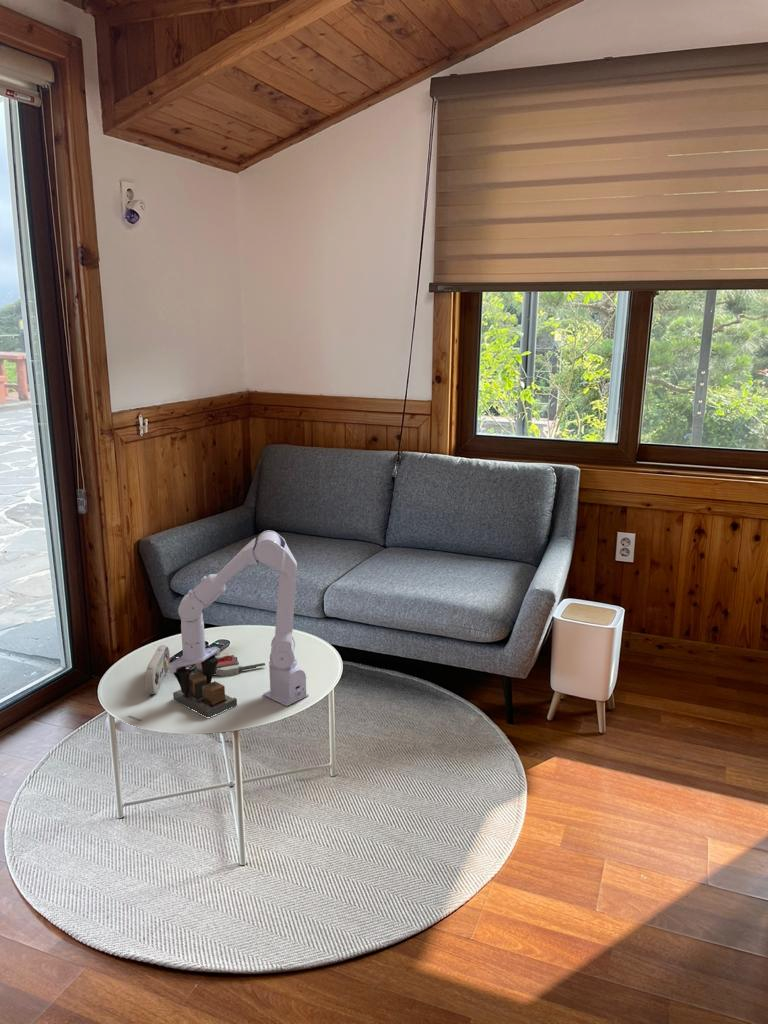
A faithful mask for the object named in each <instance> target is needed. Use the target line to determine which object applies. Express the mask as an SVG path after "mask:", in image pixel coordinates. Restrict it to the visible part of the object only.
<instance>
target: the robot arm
mask: <svg viewBox="0 0 768 1024" xmlns="http://www.w3.org/2000/svg"><path fill="white" fill-rule="evenodd" d="M259 562H260V563H262V564H264V565H266V566H268V567H270V568H272V569H273V570H274V571H275V572H276V573H278V582H277V583H278V584H277V585H278V586H277V603H276V615H275V632H274V633H275V634H274V637H273V638H272V640H271V643H270V645H271V648H270V654H269V662H268V671H269V690H267V691H265V692H263V693H262V694H263V696H264V697H267V698H269V699H271V700H273V701H275V702H277V703H279V704H281V705H283V706H286V707H288V706H289V705H292V704H294V703H296V702H299V701H300V700H302V699H305V698H307V697H308V696H309V695H310V694H309V693H308V692H307V676H306V673H305V670H303V669H302V668H301V667H300V666H299V664H298V659H297V658H296V657H295V648H296V641H295V639H294V636H293V629H294V628H293V627H294V613H295V600H296V587H297V586H296V585H297V576H298V575H297V572H298V563H297V560H296V558H295V556H294V555H293V553H292V552H291V550H290V548H289V546H288V544H287V541H286V540H285V538H284V537H282V536H281V535H280V534H279V533H278V532H276V531H274V530H271V529H270V530H269V529H268V530H264V531H262V532H261V533H259V535H258V536H257V537H254V538H253V539H252V540H250V541H249V542H248V543H247V544H246V545H245V546H244V547H243V548H241V550H239V551H238V553H237V554H236V555H234V557H233V558H232V559H231V560H230V561H229V562H228V563H227V564H225V566H224V567H223V568H222V569H221V570H220V571H219V572H217V573H210V574H208V575H207V576H206V575H203V577H202V578H201V579H200V582H199V584H198V585H197V586H195V587H194V588H193V589H190V590H189V591H188V592H187V594H186V595H184V596H183V597H182V599H181V601H180V603H179V605H178V611H177V612H178V615H179V617H180V621H181V622H180V623H181V624H180V631H181V632H180V633H181V646H182V655H181V656H180V657H177V658H176V659H175V660H174V661H172V662H169V664H168V672H170V673H172V674H173V675H174V677H175V679H176V681H178V684H179V687H180V690H182V693H184V694H186V695H187V694H189V676H190V674H191V672H190V671H189V670H187V667H189V666H193V665H194V664H196V663H200V662H201V665H202V670H203V675H205V676H206V679H207V684H209V683H212V679H213V676H214V675H213V672H214V670H215V667H216V665H217V664H218V659H217V658H215V656H219V655H220V654H221V650H220V648H219V647H217V646H213V647H208V648H206V639H205V638H206V637H205V623H204V622H205V621H204V615H203V610H204V609H207V608H209V606H211V605H212V604H213V603H214V602H215V601H216V600H217V599H219V597H220V596H221V595H222V594H223V593H224V592H225V591H226V589H227V588H226V587H227V586H226V584H227V583H228V582H229V581H230V580H232V579H233V578H234V577H235V576H236V575H237V574H238V573H240V572H241V571H242V570H243V569H245V568H246V567H247V566H249V565H253V566H254V565H255V566H257V565H259Z"/></svg>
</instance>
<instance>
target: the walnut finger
mask: <svg viewBox="0 0 768 1024" xmlns="http://www.w3.org/2000/svg"><path fill="white" fill-rule="evenodd" d="M194 672H195V671H194ZM194 672H193V673H190V676H189V694H188V695H190V696H192V697H194V698H196V699H200V698H202V697H203V696H202V686H204V685H207V679H206V676H205V675H203V674H201V673H199V672H195V673H194Z"/></svg>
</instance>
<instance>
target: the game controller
mask: <svg viewBox="0 0 768 1024" xmlns="http://www.w3.org/2000/svg"><path fill="white" fill-rule="evenodd" d="M170 659H171V658H170V649H169V647H168V645H166V644H161V645H159V646H158V647H157V649H156V651H155V653H154V654H153V656H152V657H151V660H149V663H148V664H147V667H146V671H145V676H144V677H145V678H144V679H145V681H144V685H145V686H144V687H145V691H146V693H147V695H157V694H158V692H159V691H160V690H159V689H160V687H161V686H160V685H161V682H162V681H163V679H164V677H165V676H166V675H167V674H168V672H169V670H168V664H169V663H170V662H169V661H170Z"/></svg>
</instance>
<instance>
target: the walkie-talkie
mask: <svg viewBox="0 0 768 1024" xmlns="http://www.w3.org/2000/svg"><path fill="white" fill-rule="evenodd" d="M215 658H217V659H218V664H217V665H216V667H215V670H214V672H213V676H215V675H214V674H216V675H217V676H218V675H221V676H220V677H227V676H233V674H234V675H239V674H240V673H239V672H243V671H247V670H251V669H256V668H259V667H263V666H266V663H265V662H261V663H255V664H249V665H246V666H245V665H244V666H242V665H241V666H240V662H239V661H238V657H237V656H235V655H234V654H231V653H230V652H225V653H220V655H219V656H215ZM194 665H195V670H194V672H193V673H195V672H199V673H201V674H203V670H202V665H201V662H200V663H196V664H193V666H194Z"/></svg>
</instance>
